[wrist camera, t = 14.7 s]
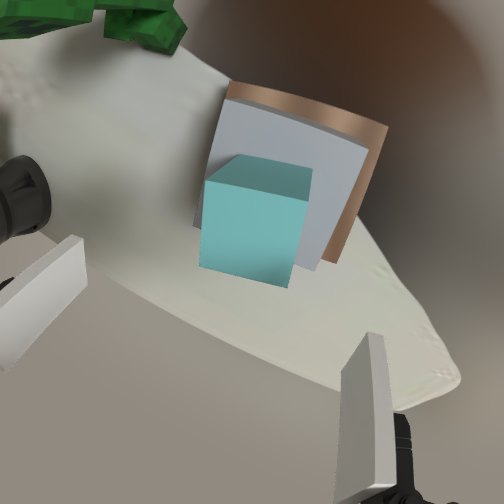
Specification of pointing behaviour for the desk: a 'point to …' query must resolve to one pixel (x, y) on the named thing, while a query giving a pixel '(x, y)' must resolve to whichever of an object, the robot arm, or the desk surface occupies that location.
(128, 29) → the toy
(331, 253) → the tower base
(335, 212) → the tower top
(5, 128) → the desk surface
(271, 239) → the block
